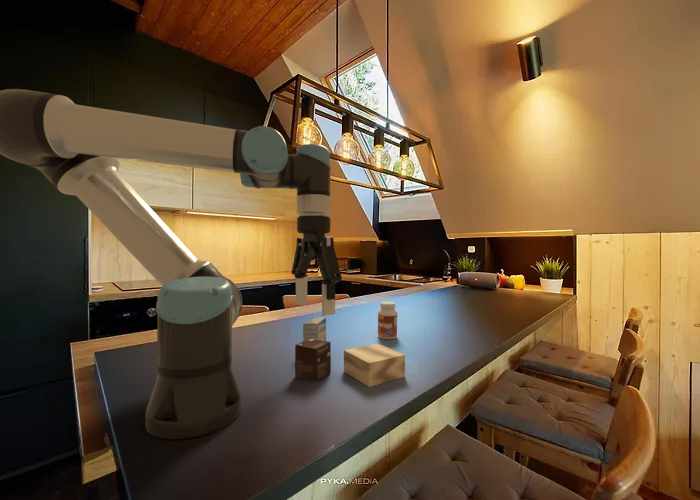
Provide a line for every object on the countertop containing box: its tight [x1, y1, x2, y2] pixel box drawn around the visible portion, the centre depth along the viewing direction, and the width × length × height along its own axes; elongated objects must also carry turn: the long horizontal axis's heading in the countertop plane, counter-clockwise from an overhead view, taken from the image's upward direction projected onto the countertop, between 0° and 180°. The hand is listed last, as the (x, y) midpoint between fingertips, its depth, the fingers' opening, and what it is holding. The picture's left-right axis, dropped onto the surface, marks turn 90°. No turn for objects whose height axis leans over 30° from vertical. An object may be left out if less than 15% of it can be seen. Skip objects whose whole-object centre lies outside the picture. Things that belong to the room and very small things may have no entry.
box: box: [294, 339, 332, 382], centre depth 75 cm, size 6×6×7 cm
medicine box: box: [302, 316, 327, 342], centre depth 92 cm, size 8×4×9 cm, turn 168°
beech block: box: [343, 343, 406, 388], centre depth 75 cm, size 10×10×5 cm
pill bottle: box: [377, 301, 398, 340], centre depth 106 cm, size 6×6×11 cm
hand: (314, 309), depth 75 cm, fingers open, 13 cm apart
